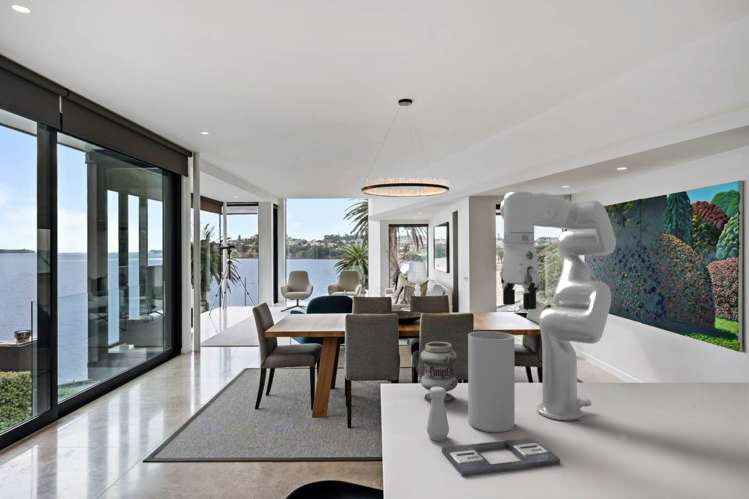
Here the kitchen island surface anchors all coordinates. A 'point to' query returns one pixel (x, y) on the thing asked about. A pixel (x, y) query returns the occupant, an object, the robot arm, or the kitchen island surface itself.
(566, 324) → the robot arm
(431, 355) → the apothecary jar
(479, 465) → the label board
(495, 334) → the cylinder vase
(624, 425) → the kitchen island surface
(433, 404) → the salt shaker
